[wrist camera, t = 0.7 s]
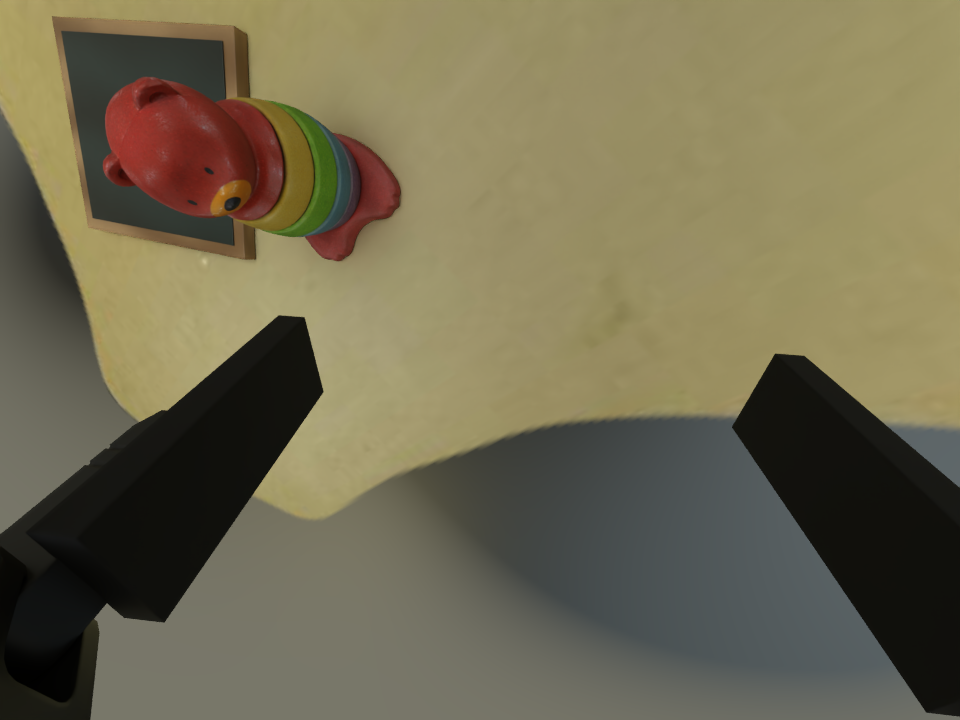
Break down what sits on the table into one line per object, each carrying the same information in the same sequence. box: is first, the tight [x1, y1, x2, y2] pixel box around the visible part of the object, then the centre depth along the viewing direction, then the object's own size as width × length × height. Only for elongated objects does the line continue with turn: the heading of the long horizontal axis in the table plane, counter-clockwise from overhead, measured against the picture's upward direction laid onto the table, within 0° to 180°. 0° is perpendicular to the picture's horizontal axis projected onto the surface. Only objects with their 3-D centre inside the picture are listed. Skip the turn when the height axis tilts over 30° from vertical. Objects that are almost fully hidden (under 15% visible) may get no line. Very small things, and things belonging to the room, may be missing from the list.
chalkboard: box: [52, 16, 255, 259], centre depth 38 cm, size 20×22×2 cm
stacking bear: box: [103, 77, 400, 261], centre depth 27 cm, size 11×10×18 cm
